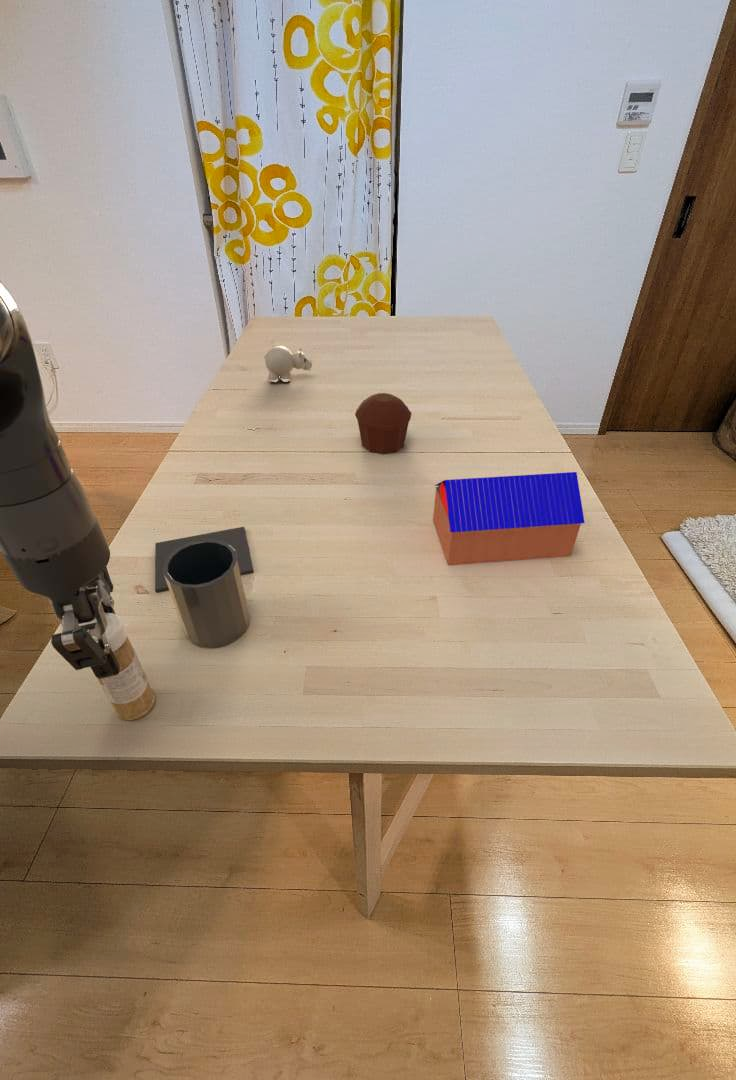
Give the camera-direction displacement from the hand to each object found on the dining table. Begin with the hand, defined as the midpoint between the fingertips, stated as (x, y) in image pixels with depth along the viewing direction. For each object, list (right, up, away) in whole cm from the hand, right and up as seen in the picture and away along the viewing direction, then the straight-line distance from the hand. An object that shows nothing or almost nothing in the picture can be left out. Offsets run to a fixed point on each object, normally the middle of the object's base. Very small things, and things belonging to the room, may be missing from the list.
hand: (110, 653), depth 54 cm
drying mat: (+1, +9, +26) cm, 27 cm away
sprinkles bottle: (0, -7, +6) cm, 10 cm away
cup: (+7, +1, +16) cm, 17 cm away
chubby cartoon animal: (+7, +53, +80) cm, 96 cm away
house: (+48, +12, +30) cm, 58 cm away
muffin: (+30, +32, +54) cm, 69 cm away
